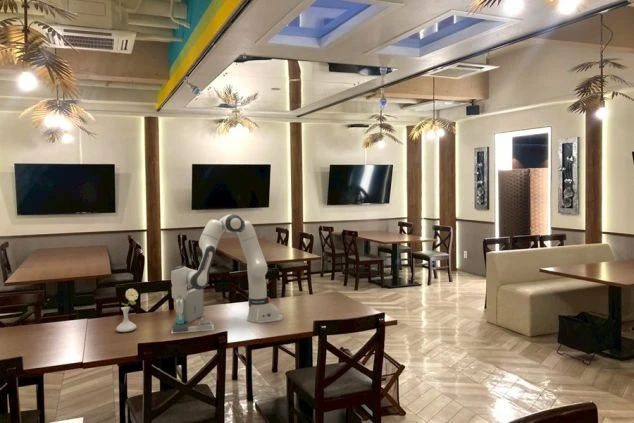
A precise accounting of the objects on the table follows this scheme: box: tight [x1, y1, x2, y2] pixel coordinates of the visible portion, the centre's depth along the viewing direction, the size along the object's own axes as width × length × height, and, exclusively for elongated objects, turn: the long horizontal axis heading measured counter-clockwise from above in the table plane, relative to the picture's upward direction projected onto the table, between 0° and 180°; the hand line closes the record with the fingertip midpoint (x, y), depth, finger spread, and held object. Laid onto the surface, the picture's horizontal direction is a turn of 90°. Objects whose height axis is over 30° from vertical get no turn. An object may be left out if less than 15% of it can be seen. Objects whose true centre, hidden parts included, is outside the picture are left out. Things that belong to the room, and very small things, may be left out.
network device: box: [183, 287, 205, 324], centre depth 308 cm, size 26×9×20 cm, turn 168°
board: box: [170, 324, 215, 334], centre depth 288 cm, size 24×11×2 cm, turn 103°
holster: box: [197, 321, 213, 331], centre depth 290 cm, size 8×8×2 cm
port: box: [171, 320, 189, 333], centre depth 287 cm, size 8×8×4 cm
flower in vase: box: [115, 288, 139, 333], centre depth 292 cm, size 13×11×25 cm
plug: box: [176, 314, 184, 325], centre depth 287 cm, size 4×4×8 cm
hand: (180, 317), depth 286 cm, fingers open, 8 cm apart
